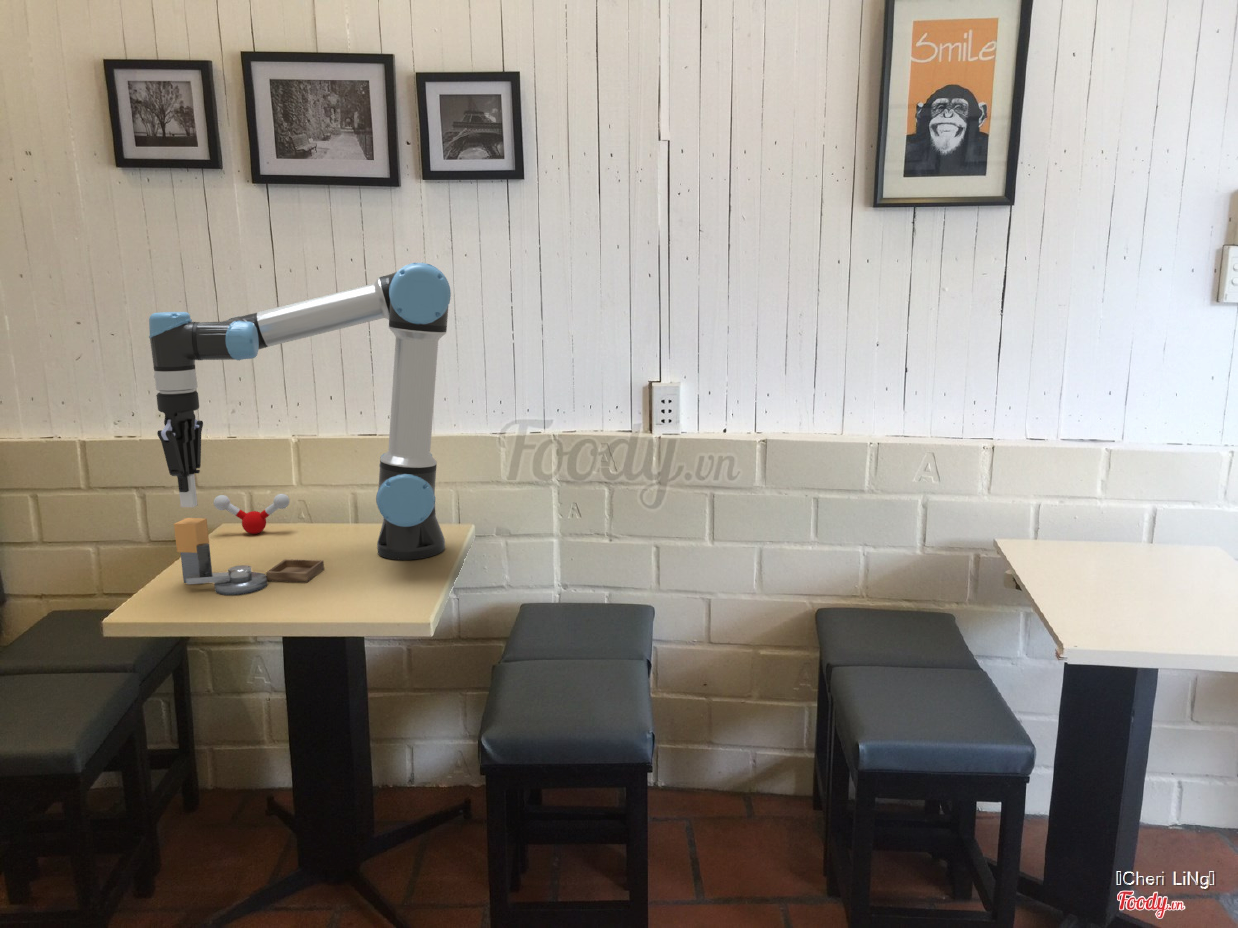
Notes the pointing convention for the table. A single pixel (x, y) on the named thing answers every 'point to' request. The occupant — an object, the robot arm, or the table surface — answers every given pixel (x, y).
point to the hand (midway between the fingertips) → (189, 506)
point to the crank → (206, 576)
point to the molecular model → (252, 512)
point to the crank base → (242, 585)
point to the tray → (295, 570)
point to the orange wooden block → (191, 534)
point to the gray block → (189, 564)
